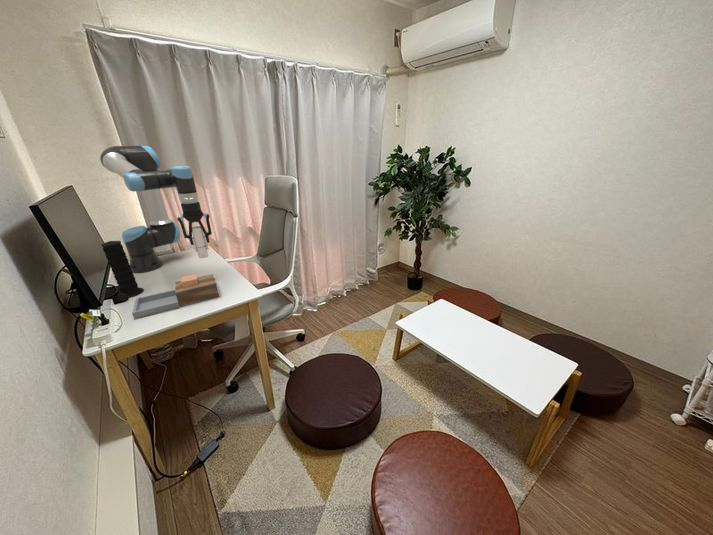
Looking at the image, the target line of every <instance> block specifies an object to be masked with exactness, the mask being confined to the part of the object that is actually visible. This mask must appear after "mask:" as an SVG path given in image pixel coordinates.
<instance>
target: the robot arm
mask: <svg viewBox="0 0 713 535" xmlns="http://www.w3.org/2000/svg"><path fill="white" fill-rule="evenodd" d="M99 159H100V163H101V164H102V167H104V168H105V169H106V171H107V170H108V171H109V172H111V173H114V174H117V175H118V176H119V177H120V178H122V179H123V182H124V184H125V186H126V188H127V190H129V191H130V192H141V193H142V196H143V198H144V199H143V200H144V203H145V206H146V208H147V212H148V215H149V218H150V222H149V223H148V225H149V227H146V226H145V225H139V226H138V225H137V226H134V227H131V228H127V229H125V230H123V231H122V233H121V237H122V242H123V243H124V245H125V249H126V251H127V253H128V256H129V265H130V266H131V269H132V272H133V274H134V273H135V274H138V273H140V274H141V273H147V272H151V271H155V270H157V269H159V268H161V267H162V266H163V261H162V260H161V258H160V257H159V256H158V255H157V253H156V252H155V250H154V249H155V248H157V247H159V248H160V247H162V246H166V245H171V244H175V243H177V242H179V240H180V239H181V231H182V234H183V237H184V239H188V240H189V242H190V245H191V246H194V251H195V252H197V248H196V244H195V240H194V237H193V233H192V227H193V223H198V224H199V226H200V227H201V228H202V231H203V235H204V239H205V243H206V248H207V251H208V250H209V245H208V243H210V238H209V236H211V235H212V233H213V231H212V228H211V224H210V214H209V213H204V212H203V211H202V207H201V204H200V202H199V199H200V198H199V195H198V192H197V187H196V183H195V178H194V174H193V171H192V168H191V167H190V166H188V165H178V166H177V165H175V166H172V167H171V169H169V168H168V169H165V170H164V169H163V170H159V169H160V168H161V160H160V158H159V156H158V154H157V153H156V151H155V150H154V148H152V147H150V146H148V145H112V146H110V147H109V146H108V147H107V148H105V149H104V150H103V151H102V152H101V154H100V156H99ZM170 188H176V193H177V195H178V200H179V203H181V204H180V206H181V210H182V215H181V216H178V217H177V218H176V219H177V221H178V222H179V224H180V228H181V231H180V228H179V225H178V224H177V223H176V222H174V221H173V219H171V218H170V217H169V215H168V211H167V208H166V205H165V204H166V203H165V202H164V198H163V195H162V192H161V189H170ZM202 218H204V219H205V222H206V227H207V230H206V227H205V226H204V224H203V222H202ZM184 219H185V220H186V221H187V222H188V234H187V230H186V227H185V224H184ZM197 253H198V252H197Z"/></svg>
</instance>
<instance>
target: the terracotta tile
mask: <svg viewBox="0 0 713 535" xmlns="http://www.w3.org/2000/svg"><path fill="white" fill-rule="evenodd" d="M197 277H198V276H197V274H196V273H195V274H190V275H185V276H181V277H180V281H181V283H182V286H183V288H187V287H191V286H196V285H198V279H197Z"/></svg>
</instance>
